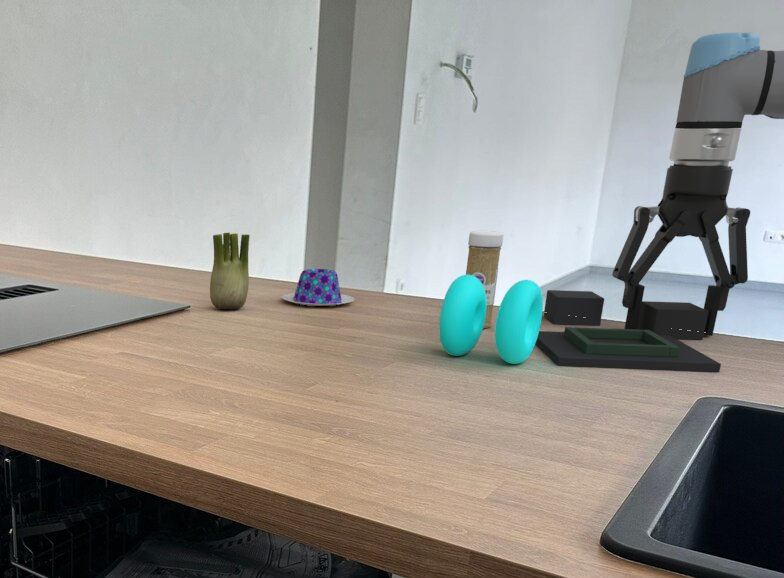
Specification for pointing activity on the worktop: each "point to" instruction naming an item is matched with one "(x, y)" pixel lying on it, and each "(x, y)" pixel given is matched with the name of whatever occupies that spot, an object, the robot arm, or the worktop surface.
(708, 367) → the base mat
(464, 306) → the donuts
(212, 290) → the fennel bulb
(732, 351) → the worktop surface
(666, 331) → the black rectangular block
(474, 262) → the sprinkles bottle
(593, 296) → the graphite pad
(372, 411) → the worktop surface
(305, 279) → the pudding
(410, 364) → the worktop surface
